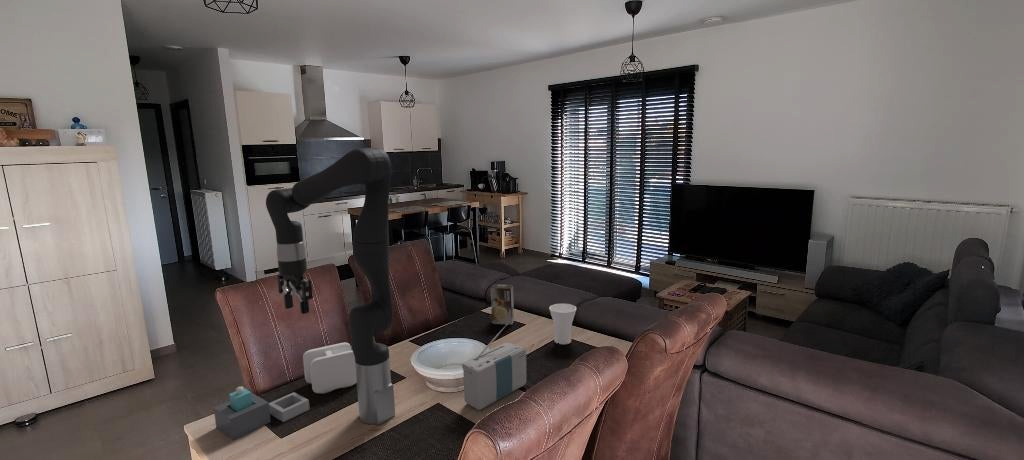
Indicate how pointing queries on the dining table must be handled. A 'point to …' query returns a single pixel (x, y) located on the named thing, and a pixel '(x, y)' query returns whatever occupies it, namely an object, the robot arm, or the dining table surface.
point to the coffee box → (502, 304)
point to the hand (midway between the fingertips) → (297, 310)
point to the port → (242, 417)
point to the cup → (562, 321)
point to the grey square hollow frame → (290, 412)
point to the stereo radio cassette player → (494, 374)
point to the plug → (240, 399)
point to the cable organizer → (330, 367)
